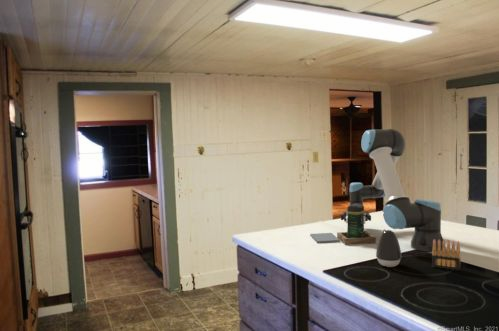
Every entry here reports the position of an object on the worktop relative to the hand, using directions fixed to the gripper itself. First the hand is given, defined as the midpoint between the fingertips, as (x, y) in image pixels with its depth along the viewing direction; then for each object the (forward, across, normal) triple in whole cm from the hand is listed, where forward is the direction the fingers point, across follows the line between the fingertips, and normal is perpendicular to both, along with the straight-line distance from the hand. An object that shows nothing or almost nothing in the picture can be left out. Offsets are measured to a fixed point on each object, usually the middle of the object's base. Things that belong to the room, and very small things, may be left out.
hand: (355, 220), depth 212 cm
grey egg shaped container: (+34, -14, -12) cm, 39 cm away
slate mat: (-6, +16, -11) cm, 21 cm away
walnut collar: (-5, 0, -12) cm, 12 cm away
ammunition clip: (+34, -36, -12) cm, 51 cm away
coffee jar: (-5, 0, -11) cm, 12 cm away
